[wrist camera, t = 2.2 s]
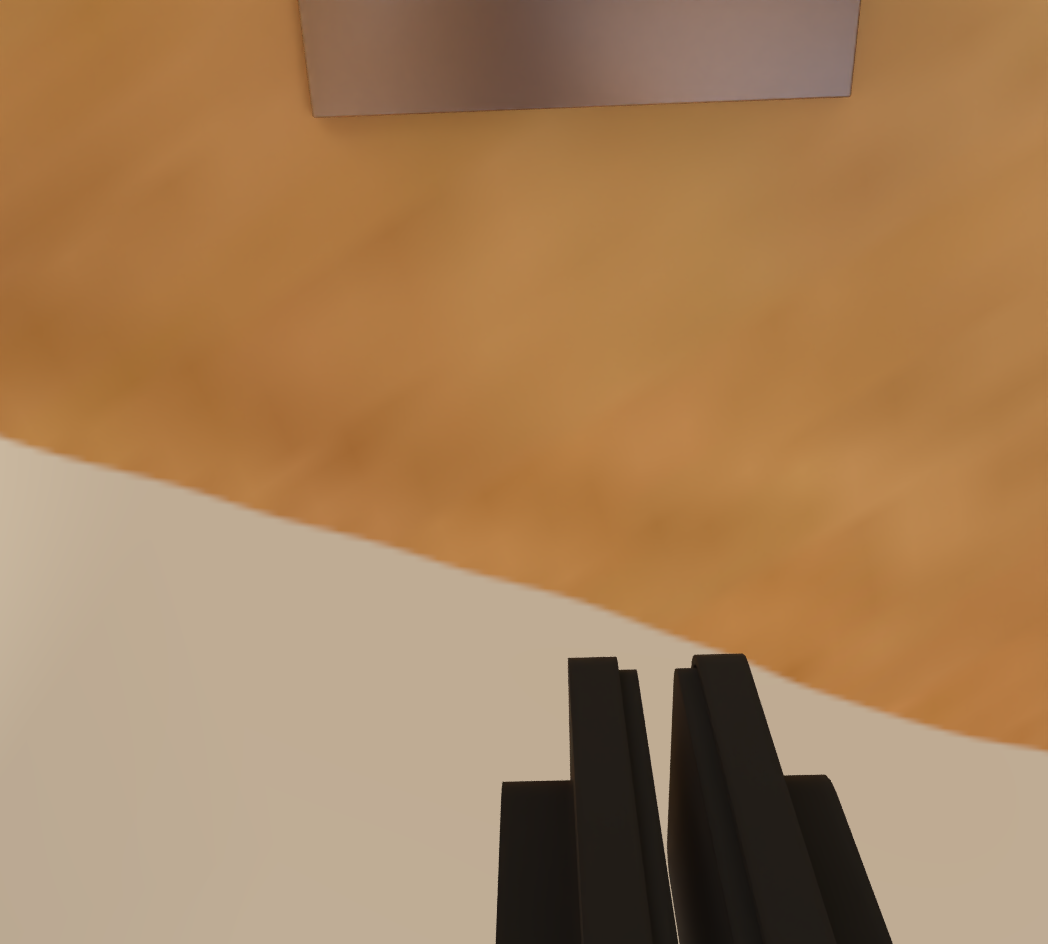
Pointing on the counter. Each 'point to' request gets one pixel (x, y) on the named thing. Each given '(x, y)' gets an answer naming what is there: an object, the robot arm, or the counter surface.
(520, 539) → the counter surface
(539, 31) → the placemat
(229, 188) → the counter surface
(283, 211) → the counter surface
